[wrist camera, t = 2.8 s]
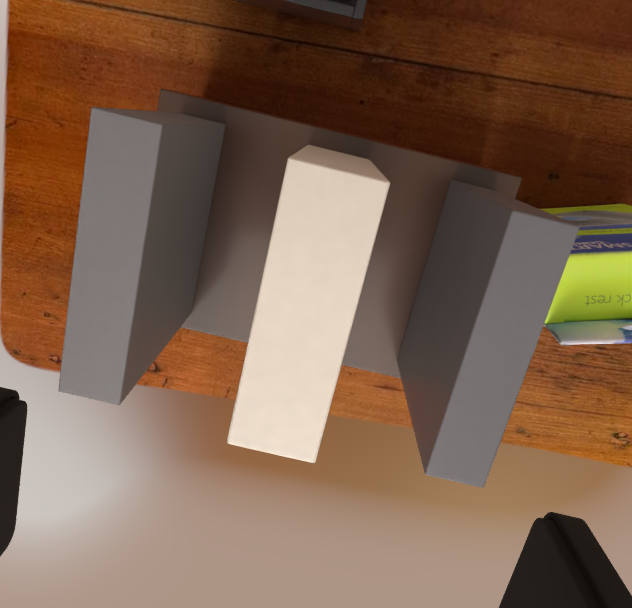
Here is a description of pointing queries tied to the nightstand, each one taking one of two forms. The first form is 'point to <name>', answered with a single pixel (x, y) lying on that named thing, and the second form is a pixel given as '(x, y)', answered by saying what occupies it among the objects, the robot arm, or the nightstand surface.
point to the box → (595, 278)
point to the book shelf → (260, 210)
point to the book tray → (319, 10)
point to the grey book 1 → (136, 244)
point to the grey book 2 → (478, 325)
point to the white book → (307, 301)
